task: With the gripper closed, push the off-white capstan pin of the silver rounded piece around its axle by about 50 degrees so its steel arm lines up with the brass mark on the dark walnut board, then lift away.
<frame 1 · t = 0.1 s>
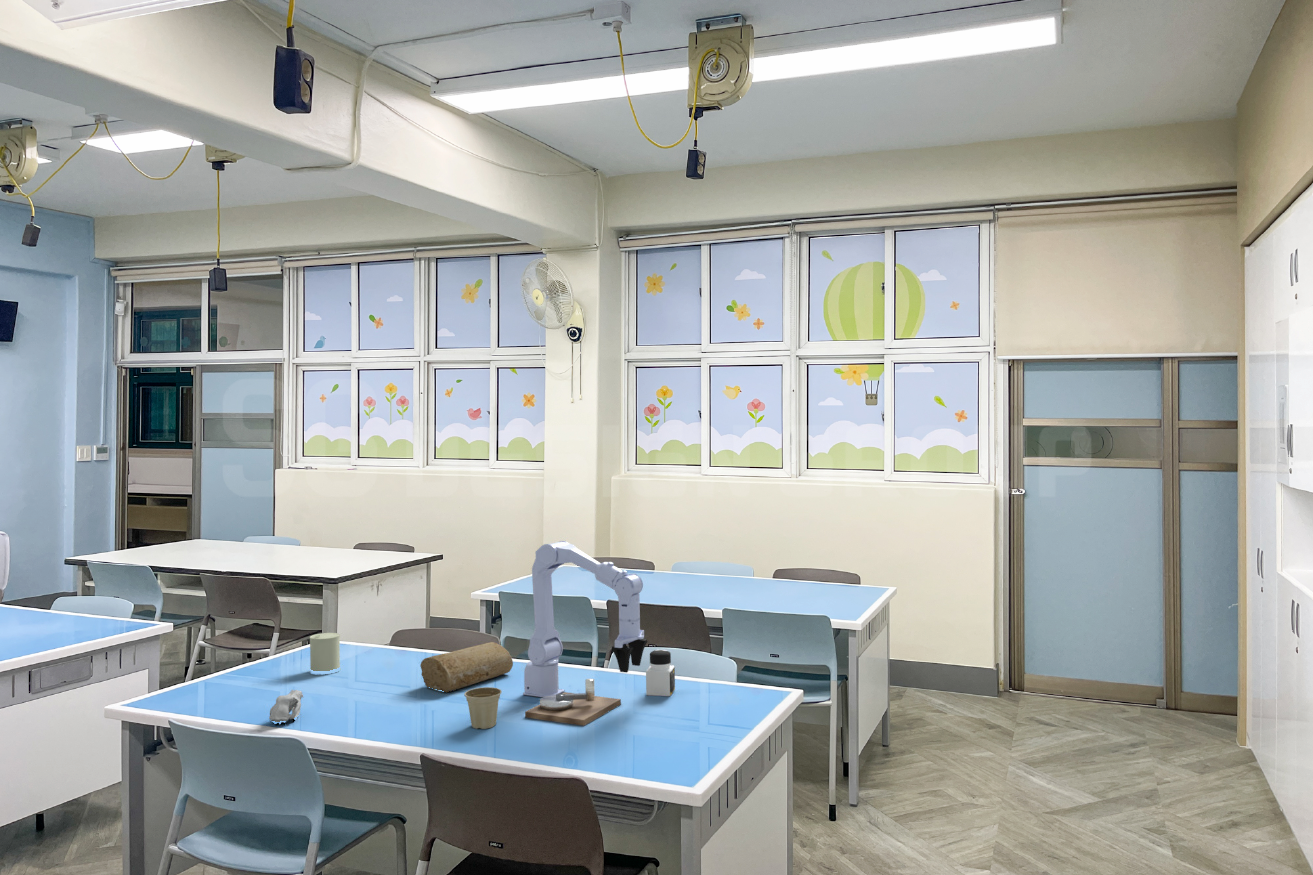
hand: (630, 668, 250), 10 cm above the table, tool pointing down, fingers open, 7 cm apart
stand board: (573, 710, 246), on the table
medicine bottle: (660, 693, 262), on the table
core sample: (466, 682, 278), on the table
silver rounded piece: (567, 692, 246), point 5 cm above the table, hinge at -50.0°
can: (325, 672, 292), on the table
skull: (287, 721, 242), on the table
flower pot: (483, 726, 235), on the table
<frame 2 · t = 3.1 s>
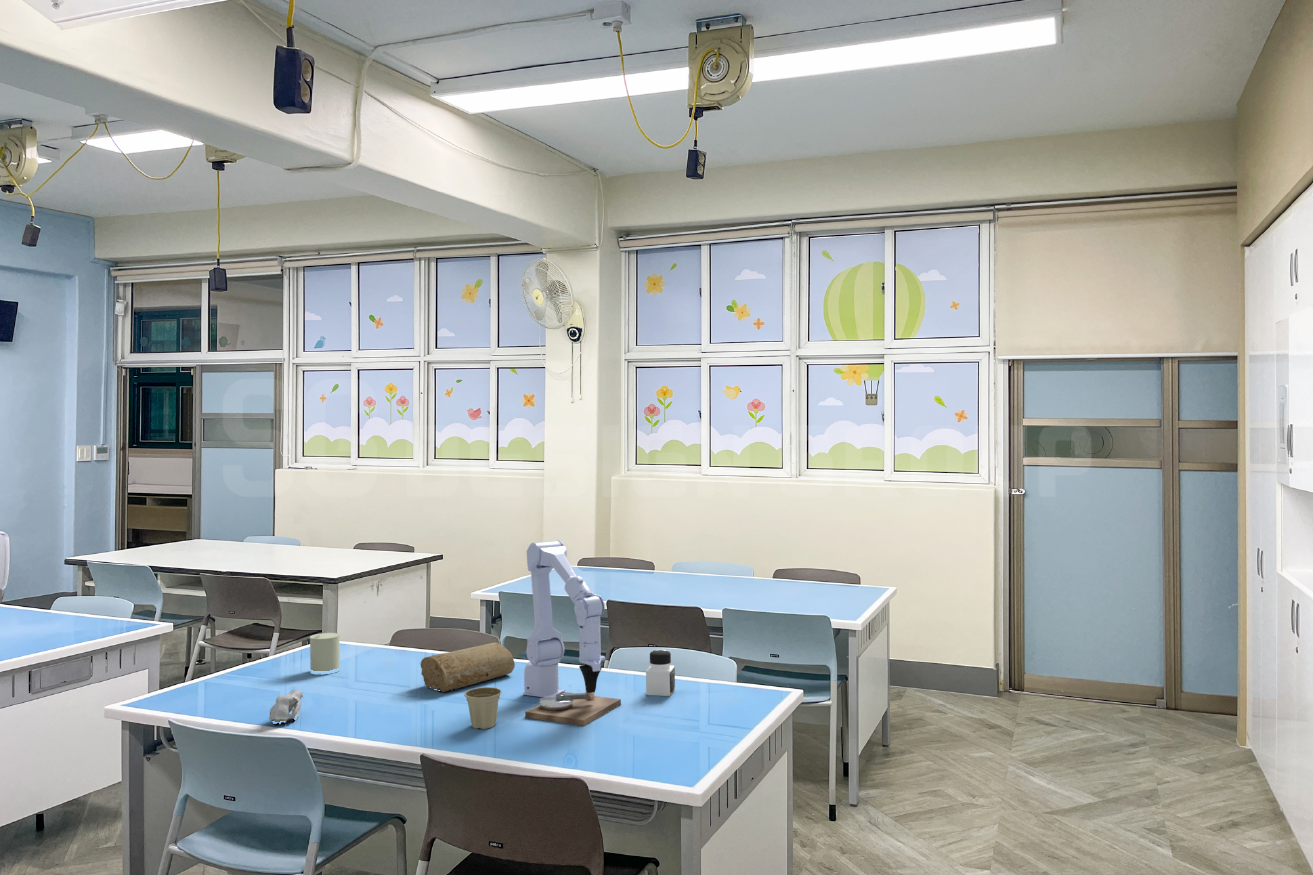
hand: (590, 692, 244), 5 cm above the table, tool pointing down, fingers closed
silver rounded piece: (567, 692, 246), point 5 cm above the table, hinge at -47.5°, touching gripper
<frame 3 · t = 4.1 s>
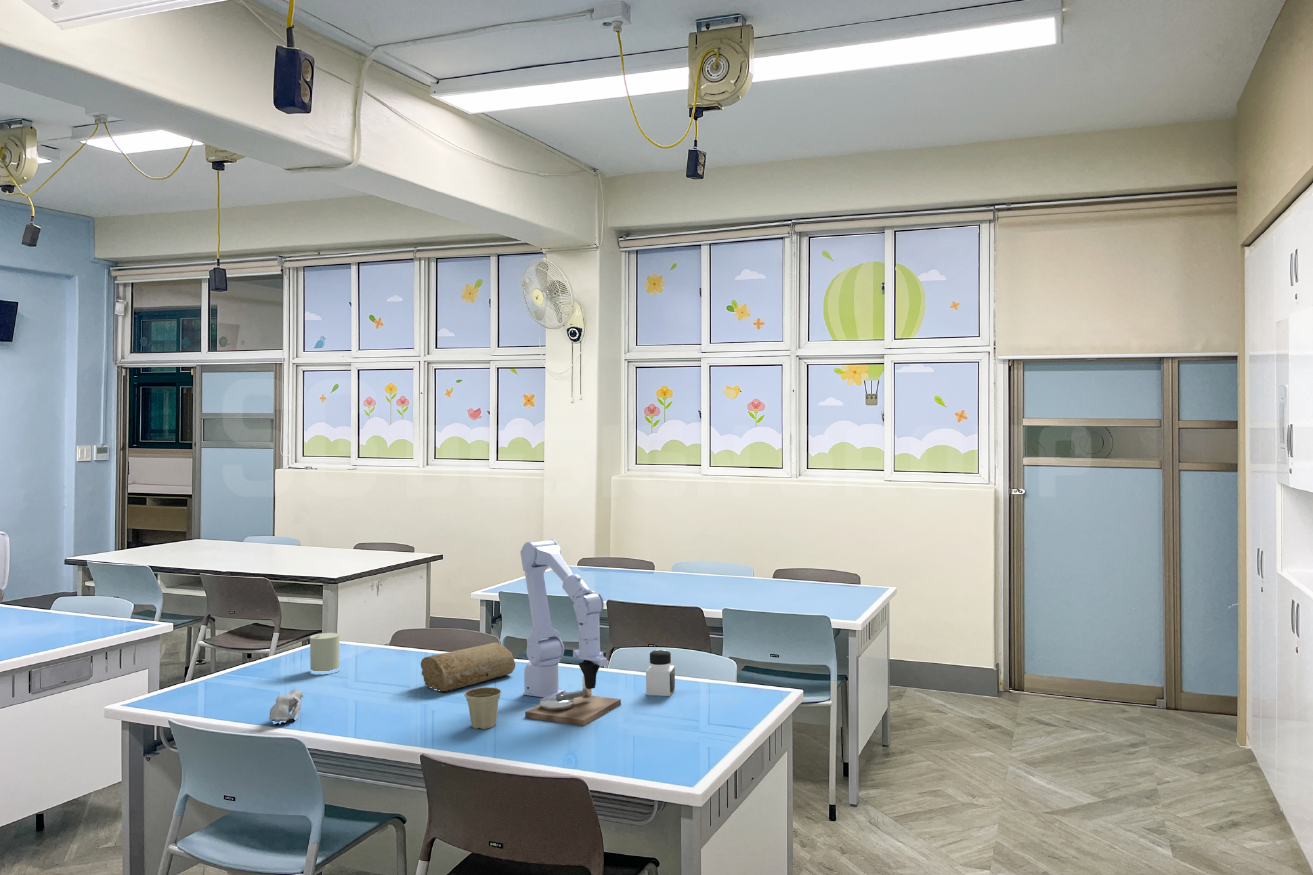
hand: (590, 688, 248), 6 cm above the table, tool pointing down, fingers closed, pressing on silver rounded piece
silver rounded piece: (566, 691, 246), point 5 cm above the table, hinge at -23.7°, touching gripper
everything else where it was.
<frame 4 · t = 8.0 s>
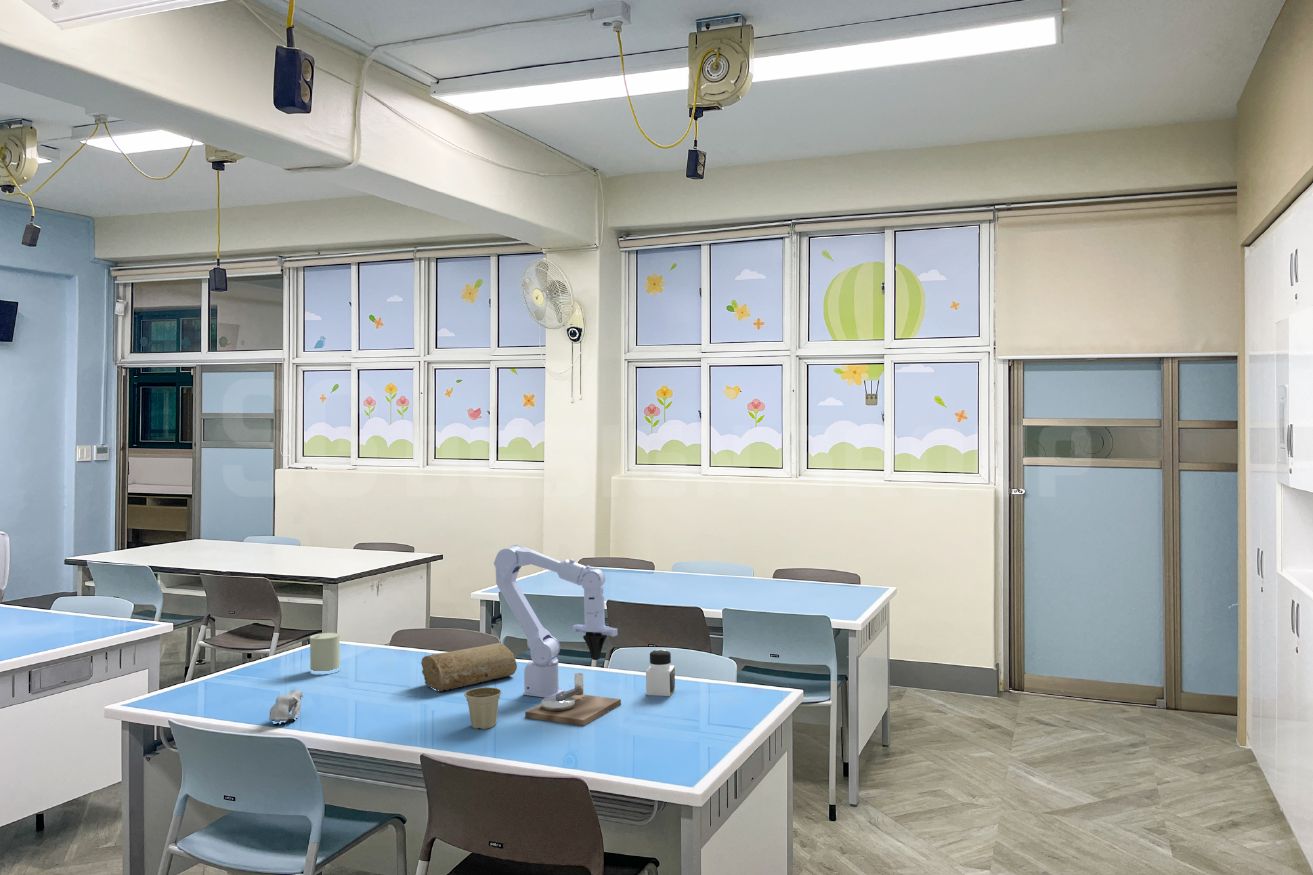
hand: (595, 659, 260), 10 cm above the table, tool pointing down, fingers closed
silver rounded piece: (564, 691, 247), point 5 cm above the table, hinge at 1.8°
at the end: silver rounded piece at +2° (first picture: -50°); medicine bottle moved 0.2 cm from its start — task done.
